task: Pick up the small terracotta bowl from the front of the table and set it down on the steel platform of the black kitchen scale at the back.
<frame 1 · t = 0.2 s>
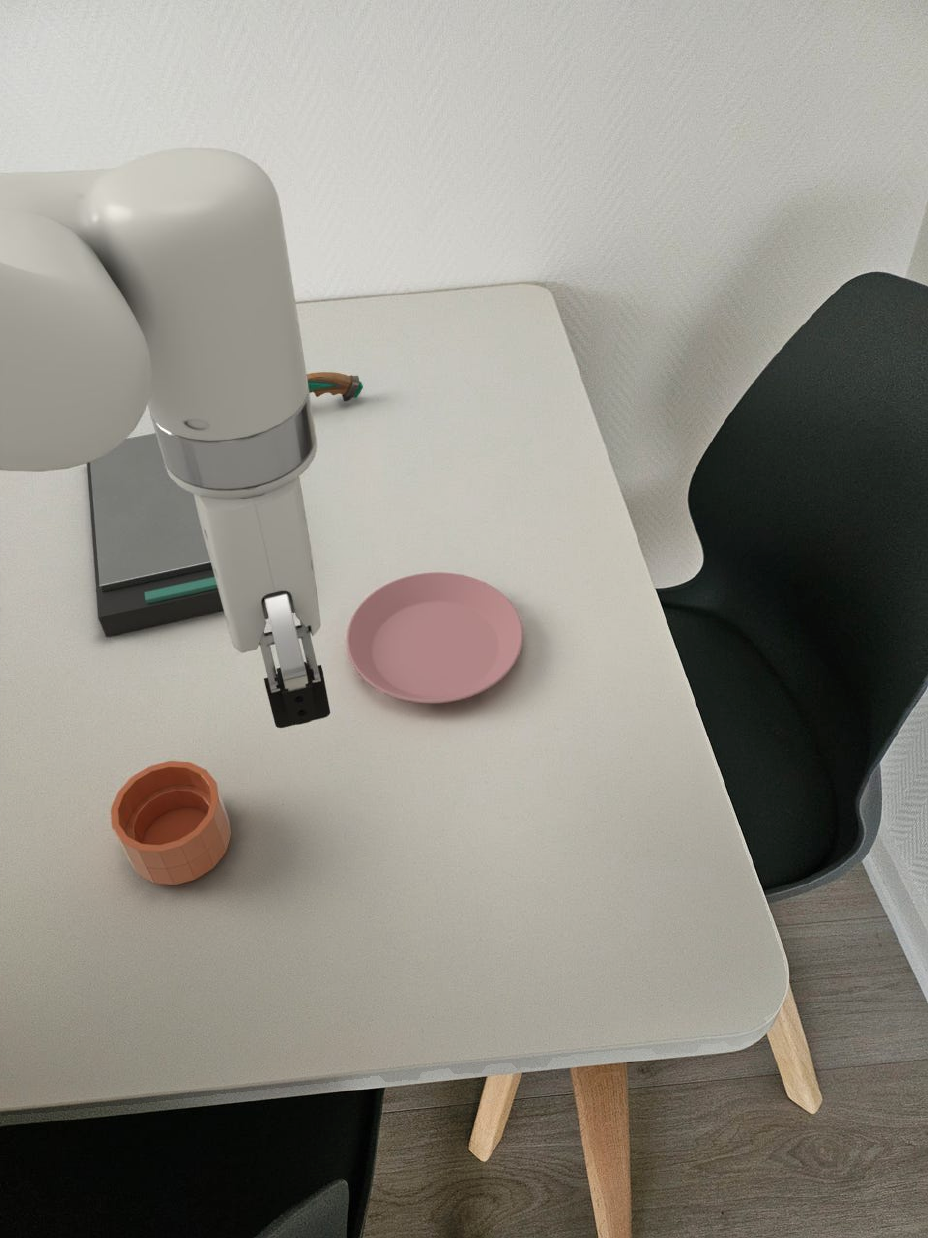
hand: (288, 659, 60), 15 cm above the table, tool pointing down, fingers open, 9 cm apart
plate: (435, 650, 81), on the table
knife: (266, 420, 104), on the table
bowl: (181, 843, 69), on the table
scale: (175, 530, 92), on the table
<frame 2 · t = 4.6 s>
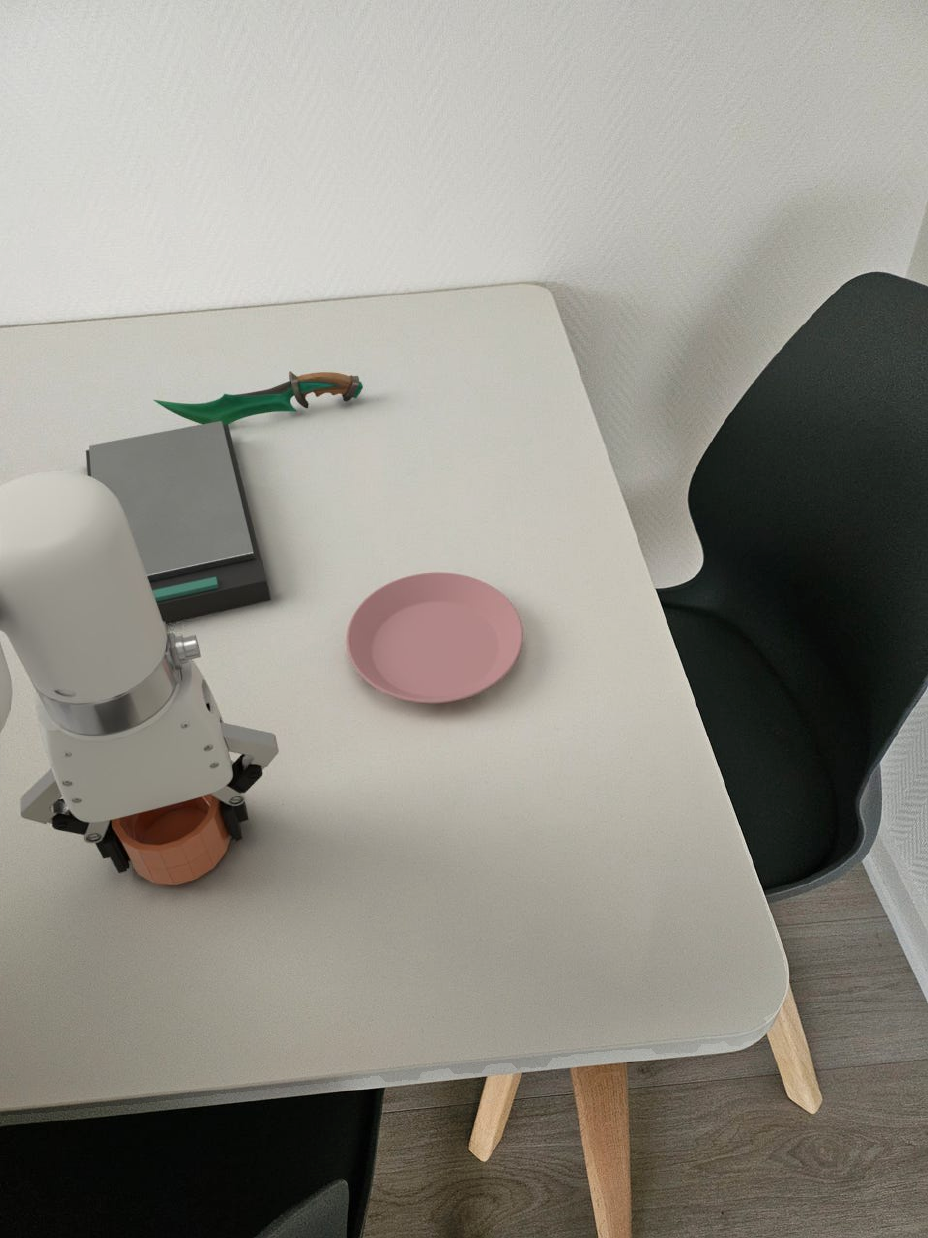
hand: (179, 837, 68), 1 cm above the table, tool pointing down, fingers closed on bowl, 7 cm apart
bowl: (182, 843, 69), on the table, touching gripper
everything else where it was.
when the fingers open (4 cm above the table, at t = 12.0 s): bowl stays where it is, resting on scale.
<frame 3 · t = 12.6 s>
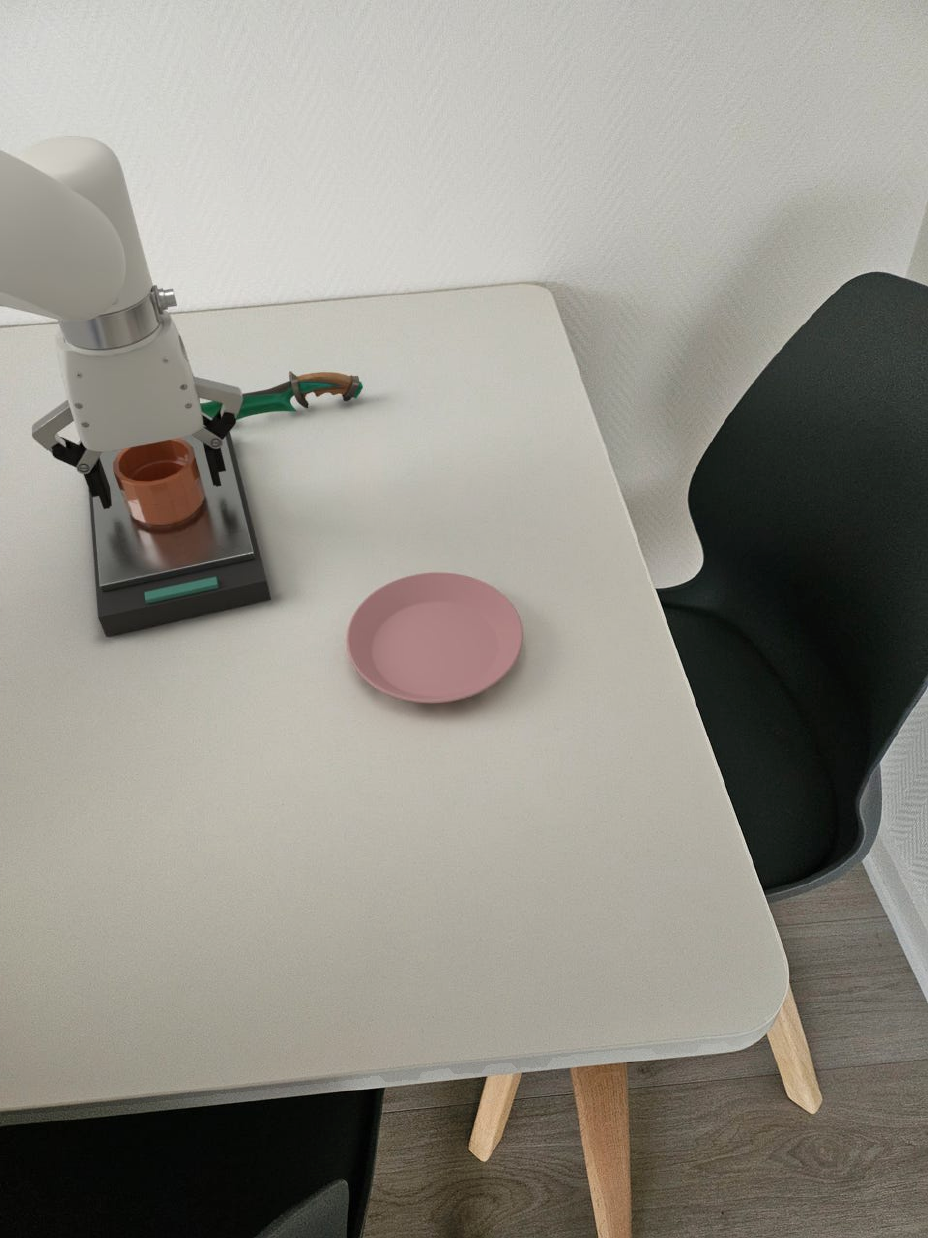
hand: (162, 488, 88), 5 cm above the table, tool pointing down, fingers open, 9 cm apart
bowl: (167, 503, 90), point 3 cm above the table, touching scale
everything else where it was.
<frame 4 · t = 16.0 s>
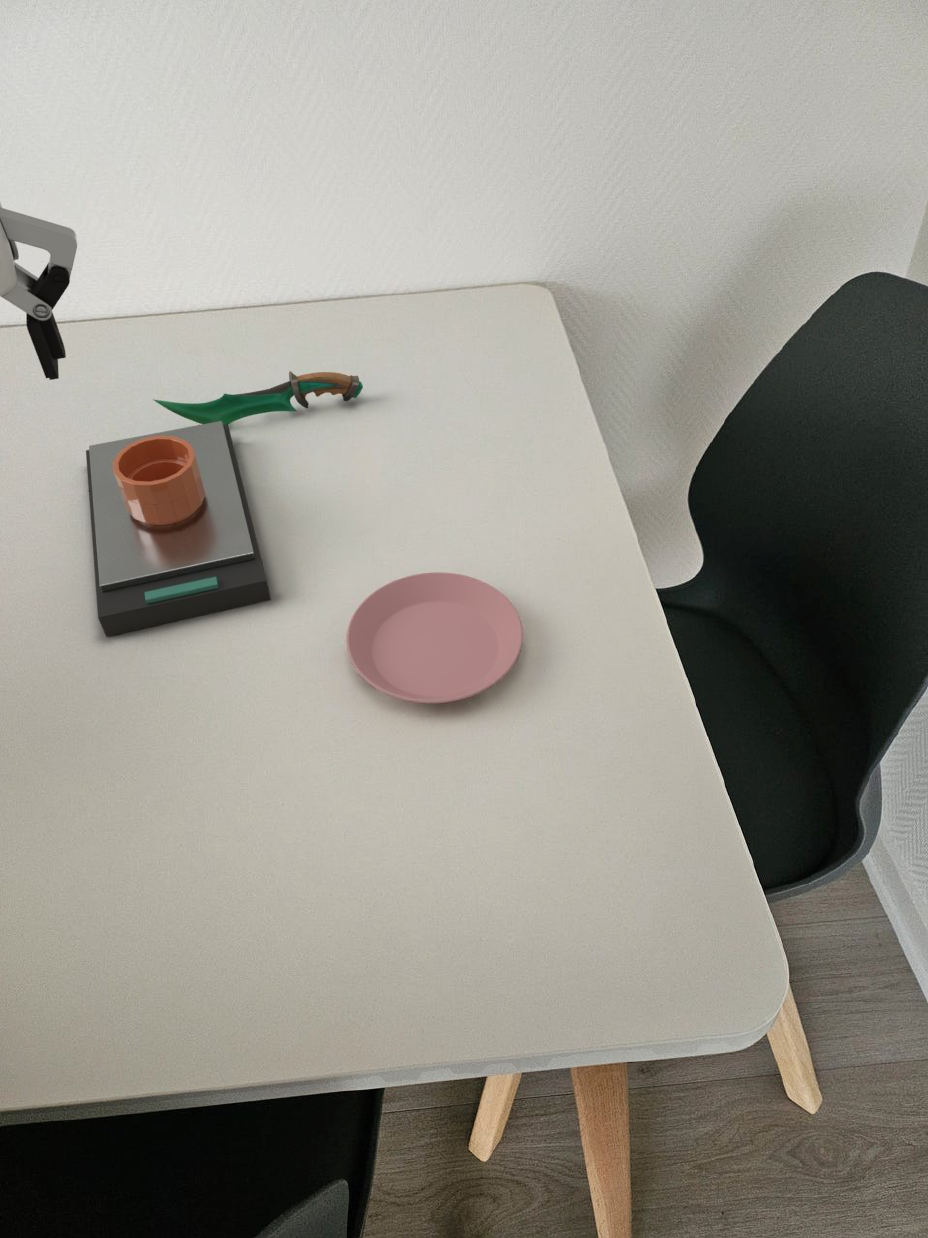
nothing on the table moved.
at the end: bowl inside the target area on the scale (1.2 cm from its centre), point 3.2 cm above the scale's base; bowl tilted 0°; the gripper is holding nothing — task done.
